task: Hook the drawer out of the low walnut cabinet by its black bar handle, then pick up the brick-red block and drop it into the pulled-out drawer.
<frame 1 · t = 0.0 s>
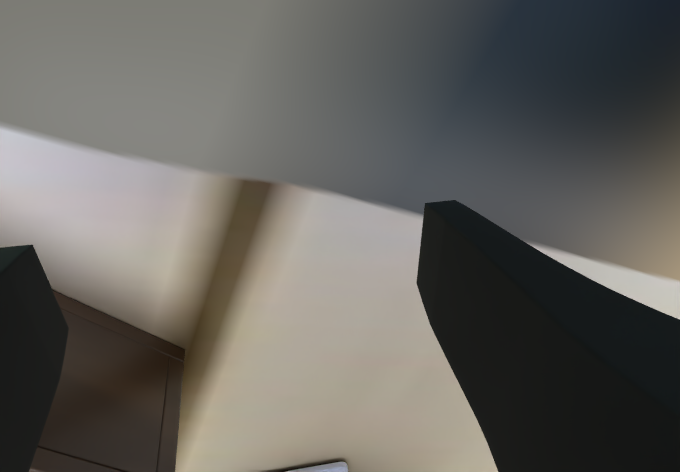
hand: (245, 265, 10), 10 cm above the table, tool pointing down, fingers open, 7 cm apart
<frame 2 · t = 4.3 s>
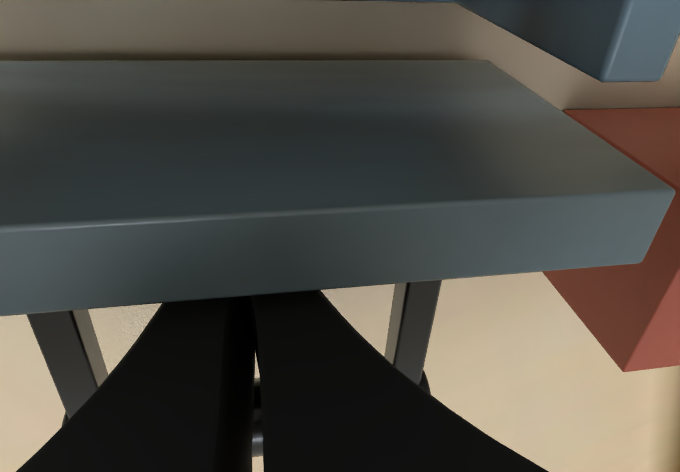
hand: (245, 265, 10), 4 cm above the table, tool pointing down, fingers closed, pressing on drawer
block: (609, 180, 15), on the table
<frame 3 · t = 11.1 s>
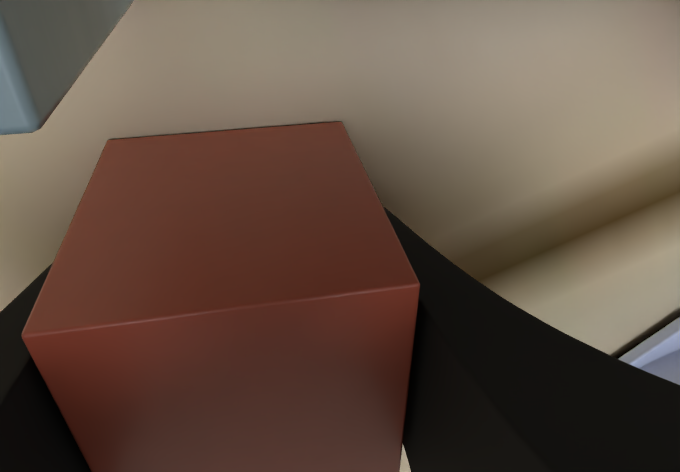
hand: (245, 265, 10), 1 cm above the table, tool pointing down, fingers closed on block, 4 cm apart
block: (241, 225, 11), on the table, touching gripper
when the fingers open (4 cm above the table, at t = 15.5 s): block stays where it is, resting on drawer.
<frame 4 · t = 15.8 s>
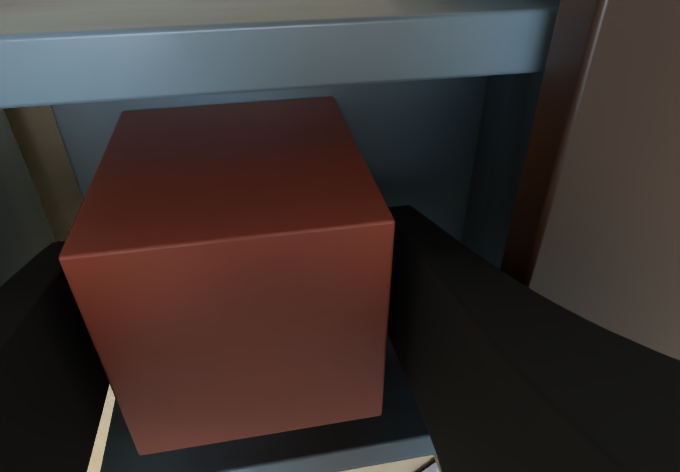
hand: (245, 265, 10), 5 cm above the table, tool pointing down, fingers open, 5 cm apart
drawer: (133, 249, 10), point 4 cm above the table, slide at 8.8 cm, touching block
block: (242, 193, 12), point 2 cm above the table, touching drawer
cabinet: (607, 124, 15), on the table
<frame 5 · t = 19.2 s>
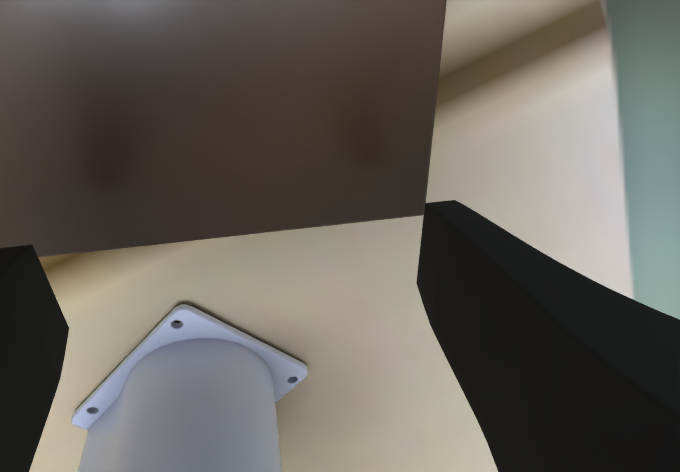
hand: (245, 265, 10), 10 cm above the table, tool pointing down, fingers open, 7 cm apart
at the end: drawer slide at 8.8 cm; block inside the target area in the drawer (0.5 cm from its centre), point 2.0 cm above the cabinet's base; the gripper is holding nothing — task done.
